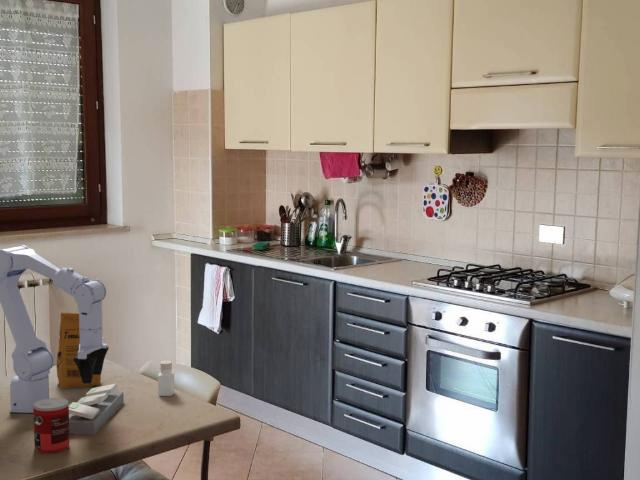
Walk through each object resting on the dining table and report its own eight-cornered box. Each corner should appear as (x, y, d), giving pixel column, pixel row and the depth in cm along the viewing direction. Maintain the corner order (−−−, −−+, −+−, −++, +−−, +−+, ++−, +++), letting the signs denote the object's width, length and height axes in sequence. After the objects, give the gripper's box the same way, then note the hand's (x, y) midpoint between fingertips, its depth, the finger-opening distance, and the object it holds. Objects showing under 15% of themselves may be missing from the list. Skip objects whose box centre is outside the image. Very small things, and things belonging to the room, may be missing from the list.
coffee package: (57, 380, 238) (55, 308, 236) (100, 377, 242) (98, 306, 239) (57, 390, 229) (54, 316, 226) (101, 387, 233) (99, 313, 230)
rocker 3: (64, 416, 197) (65, 408, 197) (71, 409, 202) (73, 401, 202) (91, 423, 197) (93, 415, 197) (98, 416, 202) (99, 408, 202)
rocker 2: (76, 411, 206) (74, 403, 205) (83, 405, 210) (81, 397, 210) (102, 406, 205) (100, 398, 205) (108, 400, 210) (106, 392, 210)
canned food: (39, 441, 191) (37, 397, 190) (73, 441, 192) (72, 397, 190) (30, 454, 183) (28, 408, 182) (65, 453, 184) (64, 408, 183)
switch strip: (58, 433, 196) (58, 421, 196) (95, 397, 224) (95, 387, 223) (94, 434, 196) (94, 422, 196) (127, 398, 223) (127, 388, 223)
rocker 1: (87, 401, 213) (85, 393, 213) (93, 395, 218) (92, 387, 218) (112, 396, 213) (110, 388, 213) (118, 390, 218) (116, 382, 218)
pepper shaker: (171, 396, 225) (171, 364, 224) (157, 396, 225) (157, 364, 224) (174, 392, 229) (174, 360, 228) (161, 392, 229) (160, 360, 228)
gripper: (96, 334, 198) (97, 387, 199) (114, 321, 212) (115, 370, 214) (69, 334, 198) (70, 386, 200) (88, 320, 212) (90, 370, 214)
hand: (92, 378), depth 207 cm, fingers open, 7 cm apart
